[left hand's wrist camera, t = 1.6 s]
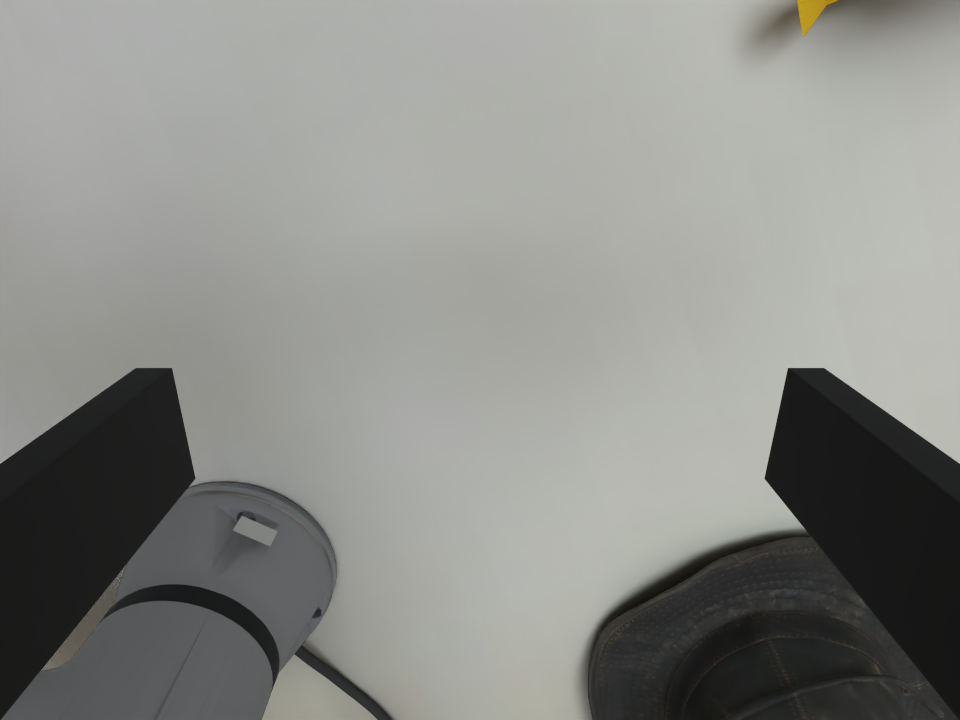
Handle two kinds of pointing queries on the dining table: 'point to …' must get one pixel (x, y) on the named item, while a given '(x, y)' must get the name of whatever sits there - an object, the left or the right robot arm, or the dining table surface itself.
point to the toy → (810, 12)
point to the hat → (758, 648)
